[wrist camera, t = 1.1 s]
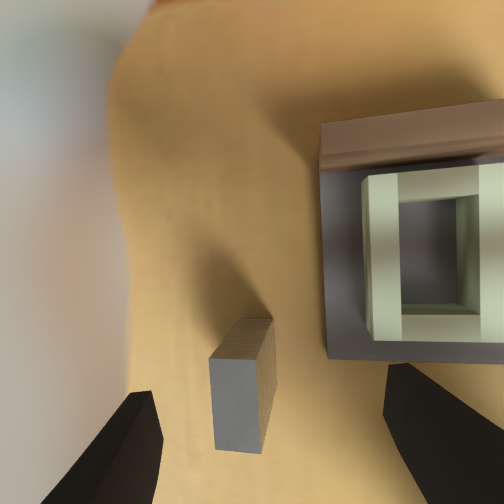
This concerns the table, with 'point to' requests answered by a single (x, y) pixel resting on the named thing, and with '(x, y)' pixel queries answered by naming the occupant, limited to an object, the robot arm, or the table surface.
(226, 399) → the thick gray slab
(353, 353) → the gray base with frame
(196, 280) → the table surface
